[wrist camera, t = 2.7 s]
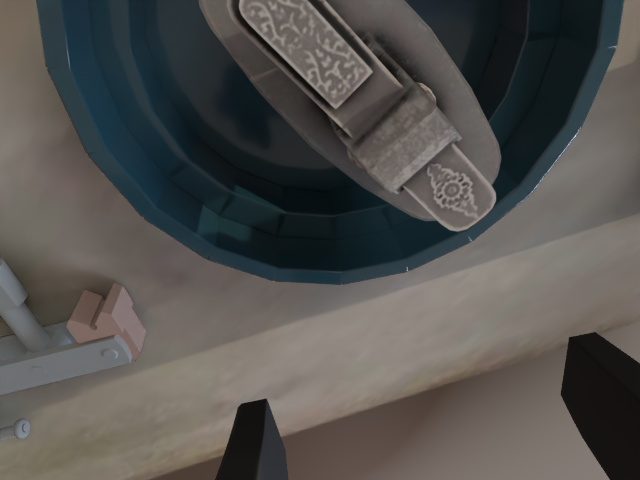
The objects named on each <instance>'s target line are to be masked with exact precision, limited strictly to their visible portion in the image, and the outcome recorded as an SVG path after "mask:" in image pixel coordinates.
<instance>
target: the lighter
mask: <svg viewBox="0 0 640 480" xmlns="http://www.w3.org/2000/svg"><path fill="white" fill-rule="evenodd" d="M199 5H200V8H201V10H202V12H203V14H204V16H205V18H206V20H207V22H208V24H209V26H210V28H211V29H212V30H213V32H214V33H215V34H216V36H217V37H218V38H219V40H220V41H221V42H222V44H223V45H224V46H225V48H226V49H227V50H228V52H229V53H230V54H231V56H232V57H233V58H234V60H235V61H236V62H237V64H238V65H239V66H240V67H241V69H242V70H243V71H244V73H245V74H246V75H247V77H248V78H249V79H250V81H251V82H252V83H253V85H254V86H255V87H256V89H257V90H258V91H259V93H260V94H261V95H262V96H263V97H264V98H265V99H266V100H267V101H268V102H269V103H270V104H271V105H272V106H273V107H274V108H275V109H276V111H277V112H278V113H279V114H280V115H281V116H282V117H283V118H284V119H285V120H286V121H287V122H288V123H289V124H290V125H291V126H292V127H293V128H294V129H295V130H296V131H297V132H298V134H299V135H300V136H301V137H302V138H303V139H304V140H305V141H306V142H307V143H308V144H309V145H310V146H311V147H312V148H313V149H315V150H316V151H317V152H318V153H320V154H321V155H322V156H324V157H325V158H326V159H327V160H329V161H330V162H331V163H332V164H334V165H335V166H336V167H338V168H339V169H340V170H341V171H343V172H344V173H345V174H347V175H348V176H349V177H350V178H352V179H353V180H354V181H356V182H357V183H358V184H359V185H361V186H362V187H363V188H365V189H367V190H368V191H370V192H372V193H373V194H375V195H377V196H378V197H380V198H382V199H383V200H385V201H387V202H388V203H390V204H392V205H394V206H395V207H397V208H399V209H400V210H402V211H404V212H405V213H407V214H409V215H410V216H412V217H415V218H418V219H421V220H424V221H438V222H439V223H440V224H442V225H443V226H444V227H446V228H447V229H449V230H452V231H457V232H458V231H462V230H466V229H468V228H469V227H471V226H472V225H474V224H476V223H477V222H478V221H479V220H481V219H482V218H483V217H484V216H485V215H486V214H487V213H488V212H489V211H490V210H491V209H492V208H493V206H494V204H495V202H496V192H495V190H494V189H493V187H492V184H493V182H494V181H495V179H496V177H497V175H498V172H499V167H500V162H501V154H500V149H499V144H498V142H497V140H496V138H495V136H494V134H493V132H492V130H491V127H490V125H489V123H488V121H487V119H486V117H485V115H484V113H483V111H482V109H481V107H480V105H479V103H478V101H477V99H476V97H475V95H474V93H473V91H472V89H471V87H470V86H469V84H468V83H467V81H466V80H465V78H464V77H463V75H462V74H461V72H460V71H459V70H458V68H457V67H456V65H455V64H454V62H453V61H452V59H451V58H450V56H449V55H448V53H447V52H446V50H445V49H444V47H443V46H442V45H441V43H440V42H439V40H438V39H437V37H436V36H435V34H434V33H433V31H432V30H431V28H430V27H429V26H428V25H427V24H426V23H425V22H424V21H423V20H422V19H421V18H420V17H419V16H418V15H417V13H416V12H415V11H414V10H413V9H412V8H411V7H410V6H409V5H408V4H407V3H406V2H405V1H404V0H199Z"/></svg>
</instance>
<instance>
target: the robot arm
mask: <svg viewBox="0 0 640 480" xmlns="http://www.w3.org/2000/svg"><path fill="white" fill-rule="evenodd" d="M561 396H562V398H563V400H564V402H565V404H566V406H567V409H568V410H569V413H570V415H571V417H572V419H573V421H574V423H575V424H576V426H577V428H578V430H579V432H580V434H581V436H582V438H583V439H584V441H585V442H586V444H587V445H588V447H589V448H590V450H591V451H592V453H593V455H594V456H595V457H596V459H597V461H598V462H599V464H600V465H601V467H602V468H603V470H604V471H605V473H606V474H607V476H608V477H609V479H610V480H640V363H638V362H637V361H636V360H634V359H633V358H631V357H630V356H628V355H627V354H626V353H624V352H623V351H621V350H620V349H619V348H617V347H616V346H614V345H613V344H611V343H610V342H609V341H607V340H605V339H604V338H603V337H601V336H600V335H598V334H597V333H596V332H594V333H589V334H584V335H579V336H574V337H569V343H568V349H567V356H566V362H565V369H564V376H563V383H562V389H561ZM215 480H288V472H287V462H286V451H285V448H284V445H283V442H282V439H281V437H280V434H279V431H278V428H277V426H276V423H275V420H274V417H273V415H272V412H271V409H270V406H269V404H268V401H267V399H262V400H257V401H253V402H248V403H243V404H241V405H240V406H239V407H238V410H237V413H236V417H235V421H234V424H233V428H232V431H231V435H230V438H229V441H228V444H227V447H226V450H225V453H224V456H223V459H222V462H221V465H220V468H219V471H218V473H217V476H216V479H215Z"/></svg>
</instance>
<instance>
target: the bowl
mask: <svg viewBox="0 0 640 480" xmlns="http://www.w3.org/2000/svg"><path fill="white" fill-rule="evenodd" d="M404 1H405V2H406V3H407V4H408V5H409V6H410V7H411V8H412V9H413V10H414V11H415V12H416V13H417V15H418V16H419V17H420V18H421V19H422V20H423V21H424V22H425V23H426V24H427V25H428V26H429V27H430V28H431V30H432V31H433V33H434V34H435V36H436V37H437V39H438V40H439V42H440V43H441V45H442V46H443V47H444V49H445V50H446V52H447V53H448V55H449V56H450V58H451V59H452V61H453V62H454V64H455V65H456V67H457V68H458V70H459V71H460V72H461V74H462V75H463V77H464V78H465V80H466V81H467V83H468V84H469V86H470V87H471V89H472V91H473V93H474V95H475V97H476V99H477V101H478V103H479V105H480V107H481V109H482V111H483V113H484V115H485V117H486V119H487V121H488V123H489V125H490V127H491V130H492V132H493V134H494V136H495V138H496V140H497V142H498V144H499V149H500V154H501V162H500V167H499V172H498V175H497V177H496V179H495V181H494V182H493V184H492V187H493V189H494V190H495V192H496V202H495V204H494V206H493V208H492V209H491V210H490V211H489V212H488V213H487V214H486V215H485V216H484V217H483V218H482V219H481V220H479V221H478V222H477V223H476V224H474V225H472V226H471V227H469V228H468V229H466V230H462V231H458V232H457V231H452V230H449V229H447V228H446V227H444V226H443V225H442V224H440V223H439V222H438V221H424V220H421V219H418V218H415V217H412V216H410V215H409V214H407V213H405V212H404V211H402V210H400V209H399V208H397V207H395V206H394V205H392V204H390V203H388V202H387V201H385V200H383V199H382V198H380V197H378V196H377V195H375V194H373V193H372V192H370V191H368V190H367V189H365V188H363V187H362V186H361V185H359V184H358V183H357V182H356V181H354V180H353V179H352V178H350V177H349V176H348V175H347V174H345V173H344V172H343V171H341V170H340V169H339V168H338V167H336V166H335V165H334V164H332V163H331V162H330V161H329V160H327V159H326V158H325V157H324V156H322V155H321V154H320V153H318V152H317V151H316V150H315V149H313V148H312V147H311V146H310V145H309V144H308V143H307V142H306V141H305V140H304V139H303V138H302V137H301V136H300V135H299V134H298V132H297V131H296V130H295V129H294V128H293V127H292V126H291V125H290V124H289V123H288V122H287V121H286V120H285V119H284V118H283V117H282V116H281V115H280V114H279V113H278V112H277V111H276V109H275V108H274V107H273V106H272V105H271V104H270V103H269V102H268V101H267V100H266V99H265V98H264V97H263V96H262V95H261V94H260V93H259V91H258V90H257V89H256V87H255V86H254V85H253V83H252V82H251V81H250V79H249V78H248V77H247V75H246V74H245V73H244V71H243V70H242V69H241V67H240V66H239V65H238V64H237V62H236V61H235V60H234V58H233V57H232V56H231V54H230V53H229V52H228V50H227V49H226V48H225V46H224V45H223V44H222V42H221V41H220V40H219V38H218V37H217V36H216V34H215V33H214V32H213V30H212V29H211V28H210V26H209V24H208V22H207V20H206V18H205V16H204V14H203V12H202V10H201V8H200V5H199V0H36V3H37V9H38V16H39V23H40V30H41V37H42V43H43V50H44V57H45V64H46V67H48V72H49V74H50V76H51V79H52V81H53V83H54V85H55V87H56V89H57V91H58V93H59V96H60V98H61V100H62V102H63V104H64V106H65V108H66V111H67V113H68V115H69V117H70V119H71V121H72V123H73V125H74V128H75V130H76V132H77V134H78V136H79V138H80V140H81V143H82V145H83V147H84V149H85V151H86V153H89V154H88V156H89V157H90V158H91V159H92V161H93V162H94V163H95V164H96V165H97V166H98V167H99V169H100V170H101V171H102V172H103V173H104V174H105V175H106V177H107V178H108V179H109V180H110V181H111V182H112V183H113V185H114V186H115V187H116V188H117V189H118V190H119V191H120V193H121V194H122V195H123V196H124V197H125V198H126V199H127V201H128V202H129V203H130V204H131V205H132V206H133V207H134V209H135V210H136V211H137V212H138V213H139V214H140V215H141V216H142V217H144V219H145V220H147V221H148V222H150V223H151V224H153V225H154V226H156V227H157V228H159V229H160V230H162V231H163V232H165V233H167V234H168V235H170V236H171V237H173V238H174V239H176V240H177V241H179V242H180V243H182V244H183V245H185V246H186V247H188V248H189V249H191V250H193V251H194V252H196V253H197V254H199V255H200V256H202V257H203V258H205V259H206V258H207V260H209V261H212V262H216V263H219V264H222V265H225V266H228V267H231V268H234V269H237V270H240V271H243V272H247V273H250V274H253V275H256V276H259V277H262V278H265V279H268V280H271V281H273V280H274V281H278V282H297V283H316V284H334V285H341V284H349V283H354V282H359V281H364V280H369V279H374V278H379V277H384V276H389V275H394V274H399V273H404V272H407V271H408V270H409V271H411V270H413V269H415V268H417V267H419V266H421V265H424V264H426V263H428V262H430V261H432V260H434V259H436V258H438V257H441V256H443V255H445V254H447V253H449V252H451V251H453V250H455V249H458V248H460V247H462V246H464V245H466V244H468V243H470V242H471V240H472V241H473V240H475V239H476V238H477V237H479V236H480V235H481V234H482V233H484V232H485V231H486V230H487V229H488V228H490V227H491V226H492V225H493V224H495V223H496V222H497V221H498V220H500V219H501V218H502V217H503V216H505V215H506V214H507V213H508V212H510V211H511V210H512V209H513V208H515V207H516V206H517V205H518V204H520V203H521V202H522V201H523V200H525V199H526V198H527V197H528V196H529V195H530V194H531V193H532V192H533V191H534V190H535V188H536V187H537V186H538V184H539V183H540V182H541V180H542V179H543V178H544V177H545V175H546V174H547V173H548V171H549V170H550V169H551V168H552V166H553V165H554V164H555V162H556V161H557V160H558V158H559V157H560V156H561V155H562V153H563V152H564V151H565V149H566V148H567V147H568V145H569V144H570V143H571V142H572V140H573V139H574V138H575V136H576V135H577V134H578V132H579V129H581V128H582V125H583V123H584V121H585V119H586V116H587V114H588V112H589V109H590V107H591V105H592V103H593V100H594V98H595V96H596V94H597V91H598V89H599V87H600V84H601V82H602V80H603V78H604V75H605V73H606V71H607V69H608V66H609V64H610V62H611V59H612V57H613V55H614V53H615V50H616V48H615V47H616V46H617V43H618V37H619V30H620V24H621V18H622V12H623V5H624V0H404ZM529 193H530V194H529Z"/></svg>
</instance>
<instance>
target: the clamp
mask: <svg viewBox="0 0 640 480" xmlns="http://www.w3.org/2000/svg"><path fill="white" fill-rule="evenodd" d="M27 296H28V292H27V291H26V289H25V288H24V287H23V285H22V284H21V283H20V281H19V280H18V279H17V277H16V276H15V275H14V273H13V272H12V271H11V269H10V268H9V267H8V265H7V264H6V263H5V261H4V260H3V258H0V316H1V317H2V318H3V320H4V321H5V322H6V323H7V325H8V326H9V327H10V328H11V330H12V331H13V332H14V333H15V334H14V335H10V336H6V337H2V338H0V395H4V394H8V393H12V392H16V391H20V390H24V389H28V388H32V387H36V386H40V385H44V384H48V383H53V382H59V381H61V380H65V379H69V378H73V377H77V376H81V375H85V374H89V373H93V372H97V371H101V370H106V369H110V368H114V367H118V366H122V365H126V364H130V362H132V361H136V359H137V358H138V356H139V354H140V352H141V349H142V345H143V342H144V338H145V335H146V331H145V329H144V327H143V326H142V324H141V322H140V321H139V319H138V317H137V316H136V314H135V312H134V311H133V309H132V305H133V302H132V300H131V298H130V297H129V295H128V293H127V292H126V290H125V288H124V287H123V285H120V284H117V283H113V284H112V286H111V288H110V290H109V293H108V295H107V297H106V299H105V300H104V299H103V298H102V296H101V295H98V294H95V293H92V292H90V291H87V290H84V291H83V293H82V295H81V297H80V299H79V301H78V303H77V305H76V307H75V309H74V311H73V313H72V315H71V317H70V319H69V321H65V322H61V323H57V324H53V325H49V326H45V327H42V325H41V324H40V323H39V321H38V320H37V319H36V317H35V316H34V315H33V314H32V312H31V311H30V310H29V308H28V307H27V306H26V304H25V303H24V301H25V299H26V298H27ZM29 432H30V425H29V422H28V421H27V420H26V419H19V420H18V421H16V423H15V424H14V426H10V427H6V428H2V429H0V440H2V439H5V438H9V437H13V436H16V437H17V438H18V439H24V438H26V437H27V436H28V434H29Z"/></svg>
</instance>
